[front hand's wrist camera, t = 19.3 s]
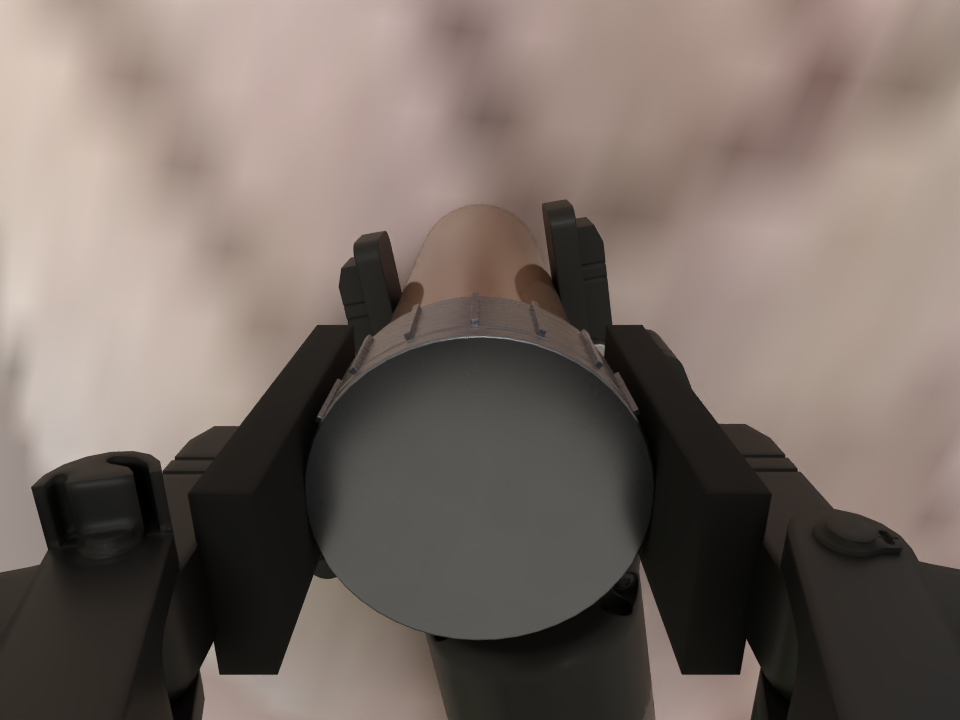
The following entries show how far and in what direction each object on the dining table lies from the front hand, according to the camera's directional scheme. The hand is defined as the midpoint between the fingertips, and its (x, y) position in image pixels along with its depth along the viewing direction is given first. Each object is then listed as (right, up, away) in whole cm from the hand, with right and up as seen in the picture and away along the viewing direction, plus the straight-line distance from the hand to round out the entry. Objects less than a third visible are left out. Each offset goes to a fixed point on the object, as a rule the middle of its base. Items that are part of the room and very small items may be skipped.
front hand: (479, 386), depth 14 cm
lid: (0, -1, -4) cm, 4 cm away
